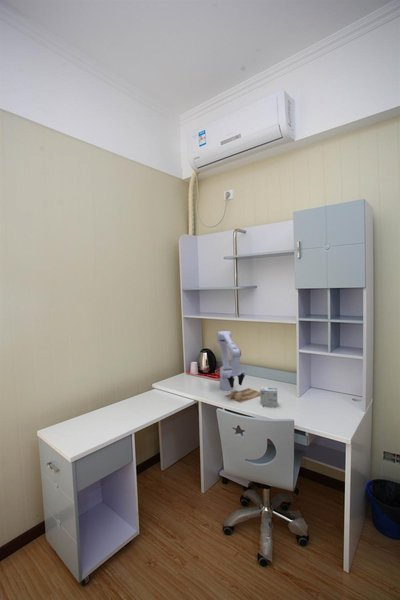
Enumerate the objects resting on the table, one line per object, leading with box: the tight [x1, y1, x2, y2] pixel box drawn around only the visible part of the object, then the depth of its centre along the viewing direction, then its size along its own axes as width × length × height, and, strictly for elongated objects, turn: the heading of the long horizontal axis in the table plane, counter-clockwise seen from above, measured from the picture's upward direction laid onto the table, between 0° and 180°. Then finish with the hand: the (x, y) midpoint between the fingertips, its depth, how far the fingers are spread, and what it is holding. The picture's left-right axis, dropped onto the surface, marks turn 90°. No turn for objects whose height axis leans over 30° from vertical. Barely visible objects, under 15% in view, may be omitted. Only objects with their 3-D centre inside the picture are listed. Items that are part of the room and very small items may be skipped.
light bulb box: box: [259, 386, 278, 408], centre depth 197 cm, size 11×7×11 cm, turn 74°
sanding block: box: [230, 389, 242, 400], centre depth 207 cm, size 7×4×4 cm, turn 37°
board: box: [224, 387, 260, 404], centre depth 212 cm, size 16×24×1 cm, turn 127°
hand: (236, 386), depth 206 cm, fingers open, 7 cm apart
